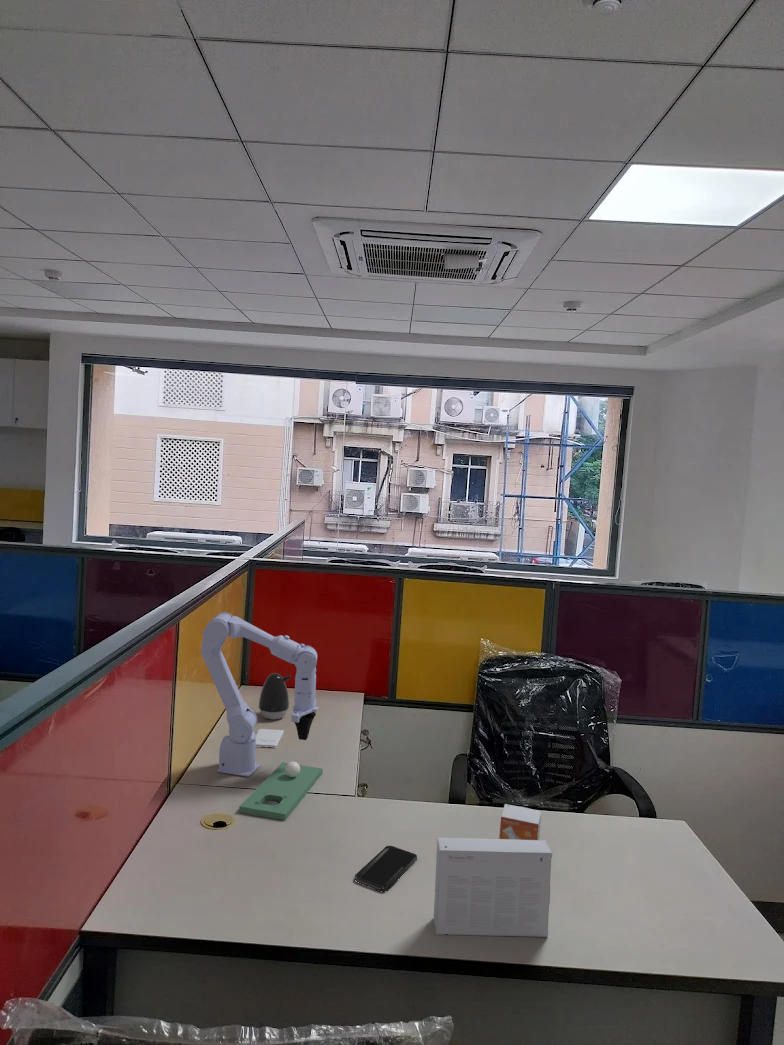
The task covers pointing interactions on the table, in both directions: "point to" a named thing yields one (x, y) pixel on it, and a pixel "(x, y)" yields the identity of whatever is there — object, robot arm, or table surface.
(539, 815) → the small box
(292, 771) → the ball
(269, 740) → the external hard drive
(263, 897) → the table surface
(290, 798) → the putting deck
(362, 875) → the phone
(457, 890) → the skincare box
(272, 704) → the pump dispenser
